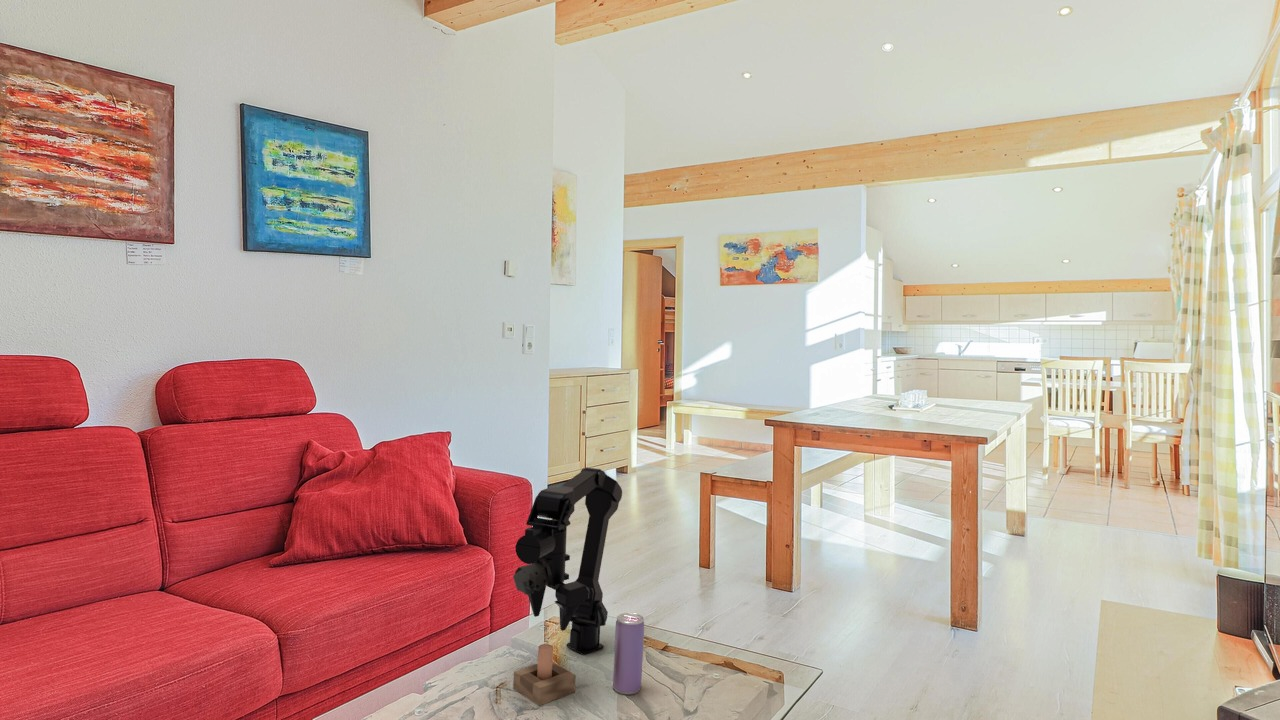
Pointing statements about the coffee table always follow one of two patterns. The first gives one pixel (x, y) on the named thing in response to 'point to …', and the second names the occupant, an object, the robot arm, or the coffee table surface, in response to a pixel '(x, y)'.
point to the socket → (544, 684)
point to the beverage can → (628, 653)
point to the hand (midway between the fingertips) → (549, 623)
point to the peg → (545, 661)
